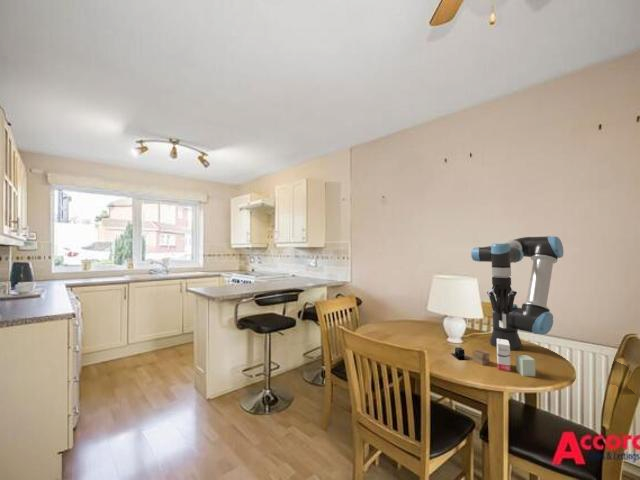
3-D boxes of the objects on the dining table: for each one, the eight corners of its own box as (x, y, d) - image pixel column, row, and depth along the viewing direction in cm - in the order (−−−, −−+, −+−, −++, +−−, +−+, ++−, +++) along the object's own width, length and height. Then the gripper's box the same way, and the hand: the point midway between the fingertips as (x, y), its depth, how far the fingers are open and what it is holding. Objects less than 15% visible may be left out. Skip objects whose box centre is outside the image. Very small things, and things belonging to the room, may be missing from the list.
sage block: (528, 371, 127) (528, 355, 128) (535, 376, 122) (535, 360, 123) (516, 370, 128) (516, 355, 128) (522, 375, 123) (522, 359, 123)
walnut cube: (480, 359, 141) (479, 349, 141) (489, 363, 136) (489, 352, 136) (472, 361, 139) (472, 351, 139) (482, 365, 134) (481, 354, 135)
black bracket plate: (473, 362, 139) (473, 353, 139) (458, 362, 139) (458, 353, 139) (460, 353, 151) (460, 344, 151) (447, 353, 151) (446, 344, 151)
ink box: (511, 371, 127) (510, 345, 127) (498, 369, 130) (497, 343, 130) (509, 364, 135) (508, 339, 135) (496, 362, 137) (496, 338, 137)
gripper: (509, 275, 137) (510, 324, 136) (482, 275, 136) (484, 325, 136) (520, 277, 129) (522, 329, 129) (492, 277, 129) (494, 330, 128)
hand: (502, 327), depth 132 cm, fingers closed
